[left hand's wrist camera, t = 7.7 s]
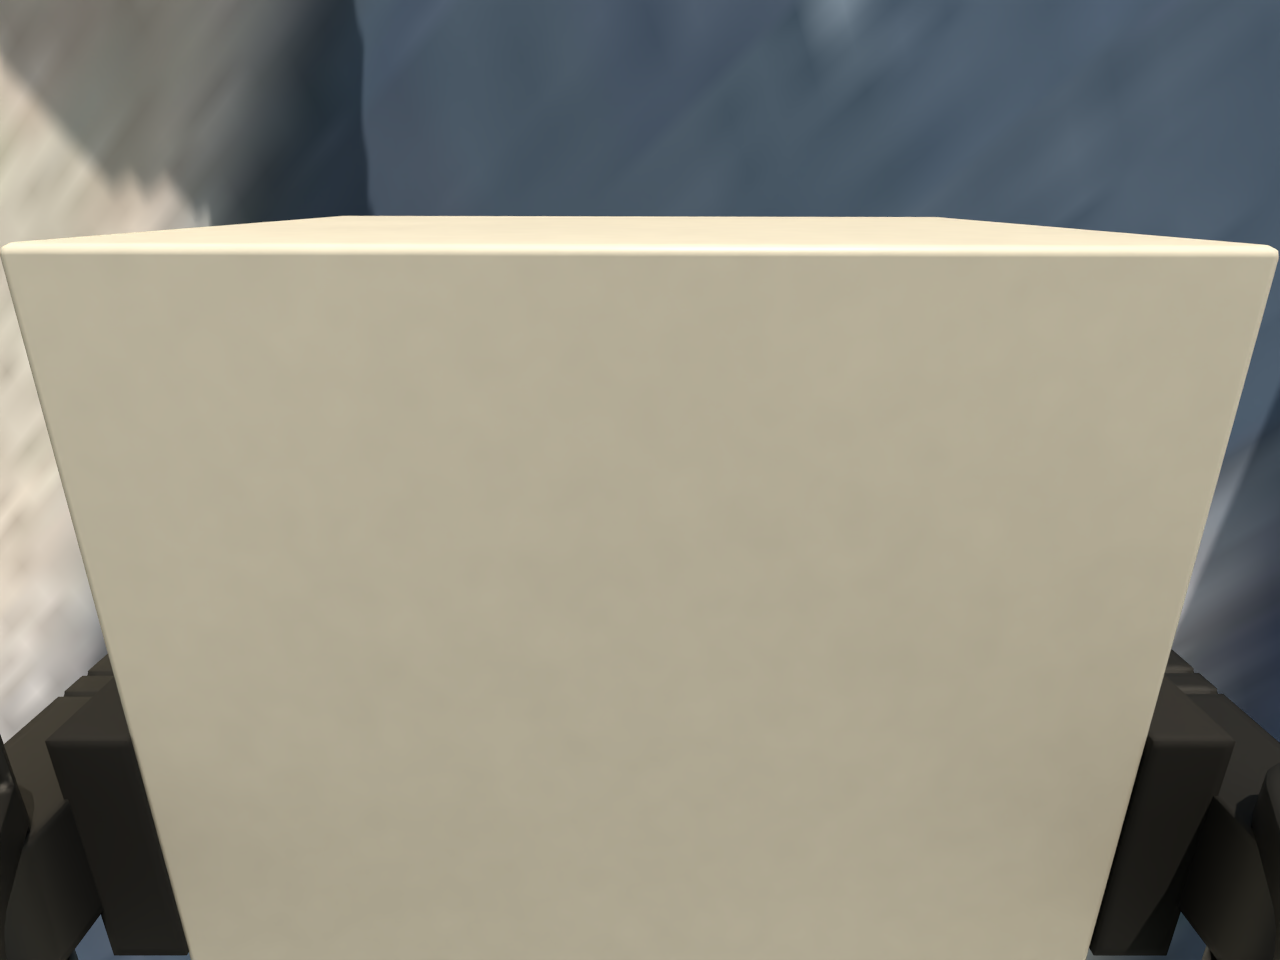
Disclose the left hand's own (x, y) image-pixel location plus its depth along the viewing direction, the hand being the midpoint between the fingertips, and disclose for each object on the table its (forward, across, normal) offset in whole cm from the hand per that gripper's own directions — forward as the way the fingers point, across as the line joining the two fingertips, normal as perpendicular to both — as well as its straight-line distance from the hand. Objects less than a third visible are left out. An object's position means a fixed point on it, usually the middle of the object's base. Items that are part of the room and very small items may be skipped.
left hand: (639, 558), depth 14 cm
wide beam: (0, 0, -28) cm, 28 cm away
